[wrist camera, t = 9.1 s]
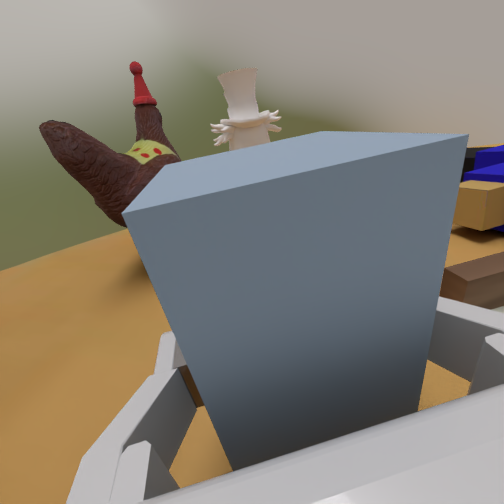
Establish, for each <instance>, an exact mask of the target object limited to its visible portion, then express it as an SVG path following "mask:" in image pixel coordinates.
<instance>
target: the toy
mask: <svg viewBox="0 0 504 504" xmlns="http://www.w3.org/2000/svg"><path fill="white" fill-rule="evenodd" d="M453 224H457V225H461V226H465V227H469V228H472V229H476V230H480V231H483V230H487V229H494V230H498V231H502V232H504V145H501V146H497V147H480V148H466V153H465V158H464V164H463V169H462V175H461V180H460V185H459V191H458V196H457V201H456V207H455V212H454V217H453Z"/></svg>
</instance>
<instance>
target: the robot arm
mask: <svg viewBox="0 0 504 504" xmlns="http://www.w3.org/2000/svg"><path fill="white" fill-rule="evenodd" d="M427 359H428V360H430V361H432V362H433V363H435V364H437V365H439V366H441V367H443V368H445V369H447V370H449V371H451V372H452V373H454V374H456V375H458V376H460V377H462V378H464V379H466V380H468V381H470V382H471V383H470V387H469V390H468V393H467V396H464V397H461V398H458V399H455V400H452V401H449V402H446V403H443V404H440V405H437V406H434V407H430V408H427V409H424V410H421V411H418V412H415V413H412V414H409V415H406V416H403V417H400V418H397V419H393V420H390V421H387V422H384V423H381V424H378V425H375V426H372V427H369V428H366V429H363V430H359V431H356V432H353V433H350V434H347V435H344V436H341V437H338V438H335V439H332V440H329V441H325V442H322V443H319V444H316V445H313V446H310V447H307V448H304V449H301V450H298V451H295V452H292V453H289V454H285V455H282V456H279V457H276V458H273V459H270V460H267V461H264V462H261V463H258V464H255V465H252V466H249V467H245V468H242V469H239V470H236V471H233V472H230V473H227V474H224V475H221V476H218V477H215V478H212V479H209V480H206V481H202V482H199V483H196V484H193V485H190V486H187V487H184V488H181V489H180V488H179V486H178V485H177V483H176V482H175V480H174V479H173V477H172V476H171V474H170V472H169V469H170V467H171V465H172V462H173V460H174V458H175V456H176V454H177V452H178V449H179V447H180V445H181V443H182V441H183V439H184V437H185V434H186V432H187V430H188V428H189V426H190V424H191V422H192V419H193V417H194V415H195V413H196V411H197V409H196V408H198V407H201V406H204V403H203V400H202V398H201V396H200V393H199V391H198V389H197V386H196V384H195V382H194V380H193V377H192V375H191V373H190V370H189V368H188V366H187V363H186V361H185V359H184V357H183V354H182V352H181V350H180V347H179V345H178V343H177V340H176V338H175V336H174V333H173V331H169V332H166V333H163V334H162V335H161V337H160V343H159V348H158V354H157V359H156V365H155V370H154V375H151V376H149V377H148V378H147V379H146V380H145V382H144V383H143V384H142V385H141V386H140V388H139V389H138V390H137V391H136V393H135V394H134V395H133V396H132V397H131V399H130V400H129V401H128V402H127V404H126V405H125V406H124V407H123V408H122V410H121V411H120V412H119V413H118V415H117V416H116V417H115V418H114V420H113V421H112V422H111V423H110V424H109V426H108V427H107V428H106V429H105V431H104V432H103V433H102V434H101V435H100V437H99V438H98V439H97V440H96V442H95V443H94V444H93V445H92V447H91V448H90V449H89V450H88V451H87V453H86V454H85V455H84V456H83V458H82V460H81V463H80V465H79V468H78V471H77V474H76V477H75V479H74V482H73V485H72V488H71V491H70V493H69V496H68V499H67V502H66V504H504V313H500V312H497V311H493V310H489V309H485V308H481V307H478V306H474V305H470V304H466V303H462V302H459V301H455V300H451V299H447V298H443V297H440V296H439V298H438V303H437V309H436V314H435V320H434V325H433V330H432V336H431V341H430V346H429V352H428V357H427Z"/></svg>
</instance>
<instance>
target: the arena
mask: <svg viewBox="0 0 504 504" xmlns="http://www.w3.org/2000/svg"><path fill="white" fill-rule="evenodd" d="M439 296H440V297H443V298H447V299H451V300H455V301H459V302H462V303H466V304H470V305H474V306H478V307H481V308H485V309H489V310H493V311H497V312H500V313H504V252H501V253H497V254H494V255H490V256H486V257H483V258H479V259H475V260H472V261H468V262H464V263H461V264H457V265H453V266H450V267H446V268H444V274H443V279H442V284H441V290H440V295H439Z"/></svg>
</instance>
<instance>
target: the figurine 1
mask: <svg viewBox="0 0 504 504" xmlns="http://www.w3.org/2000/svg"><path fill="white" fill-rule="evenodd" d="M130 71H131V73H132V74H133V75H134V84H135V99H134V100H133V105H134V106H135V107H136V109H135V121H136V128H137V136H136V142H135V144H134V145H133V147H132V149H131V150H130V151H128V152H127V153H116V152H115V151H113V150H112V149H110V148H109V147H108V146H106V145H105V144H103V143H102V142H100V141H98V140H97V139H95V138H93V137H92V136H90V135H88V134H87V133H85V132H83V131H82V130H80V129H78V128H76V127H75V126H73V125H71V124H68V123H66V122H58V121H54V120H50V121H47V122H44V123H42V124H41V125H40V127H39V129H40V132H41V134H42V136H43V138H44V140H45V141H46V143H47V145H48V146H49V149H50V150H51V152H52V155H53V156H54V158H55V159H56V160H57V161H58V162H59V163H60V164H61V165H62V166H63V167H64V169H65V170H66V171H67V172H68V173H69V174H70V175H71V176H72V177H73V178H74V179H76V180H77V181H78V182H79V183H80V184H81V185H82V186H83V187H84V188H85V189H86V190H87V191H88V192H89V193H90V194H91V195H92V196H93V197H94V200H95V204H96V205H97V206H98V207H99V208H101V209H102V210H103V211H104V213H105V214H106V215H107V216H108V217H109V218H110V219H111V220H113V221H114V222H115V223H117V224H119V225H121V226H123V227H127V225H126V223H125V220H124V218H123V216H122V214H121V213H122V212H123V211H124V210H125V209H126V208H127V207H128V206H129V205H130V204H131V202H132V201H133V200H134V199H135V198H136V197H137V196H138V195H139V194H140V192H141V191H142V190H143V189H144V188H145V187H146V186H147V185H148V184H149V182H150V181H151V180H152V179H153V178H154V177H155V176H156V175H157V174H158V172H159V171H160V170H161V169H162V168H163V167H164V166H165V165H168V164H172V163H177V162H182V161H181V159H180V158H179V156H178V154H177V153H176V151H175V150H174V148H173V146H172V145H171V144H170V142H169V141H168V139H167V138H166V136H165V134H164V132H163V129H162V116H161V114H160V112H159V110H158V109H157V108H156V107H155V106H156V105H157V102H156V100H155V99H154V98H152V96H151V94H150V92H149V90H148V88H147V86H146V84H145V82H144V80H143V77H142V76H141V75H142V67H141V65H140V64H139V63H137V62H132V63H131V64H130ZM127 228H128V227H127Z"/></svg>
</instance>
